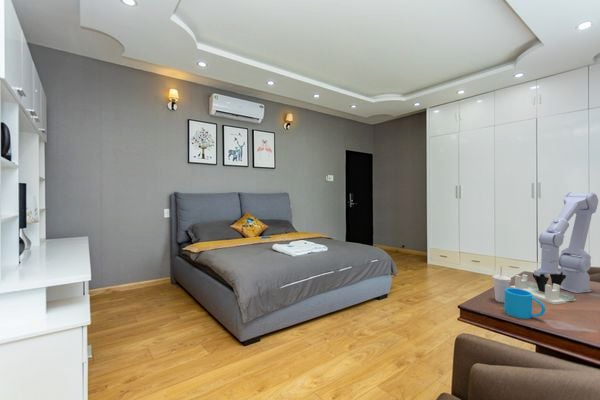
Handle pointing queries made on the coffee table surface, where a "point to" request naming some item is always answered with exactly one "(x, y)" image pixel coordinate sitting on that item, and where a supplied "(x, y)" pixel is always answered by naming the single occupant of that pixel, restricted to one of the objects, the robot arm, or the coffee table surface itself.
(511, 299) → the mug
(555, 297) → the rack
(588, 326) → the coffee table surface
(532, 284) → the rail
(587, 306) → the coffee table surface
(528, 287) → the mat
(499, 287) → the smoothie
